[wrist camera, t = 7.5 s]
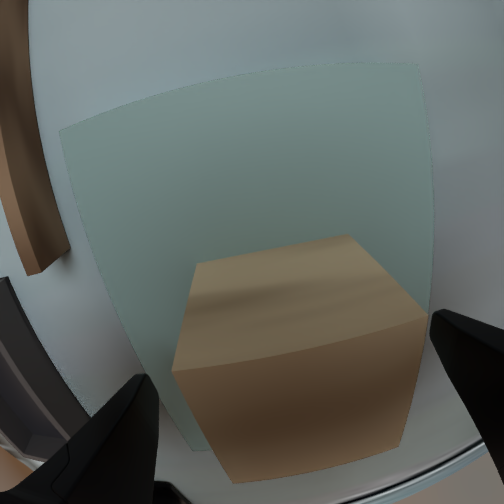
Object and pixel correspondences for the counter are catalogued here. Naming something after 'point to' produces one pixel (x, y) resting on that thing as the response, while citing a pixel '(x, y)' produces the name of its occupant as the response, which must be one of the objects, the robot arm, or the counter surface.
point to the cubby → (24, 151)
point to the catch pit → (31, 387)
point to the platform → (250, 188)
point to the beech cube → (298, 358)
